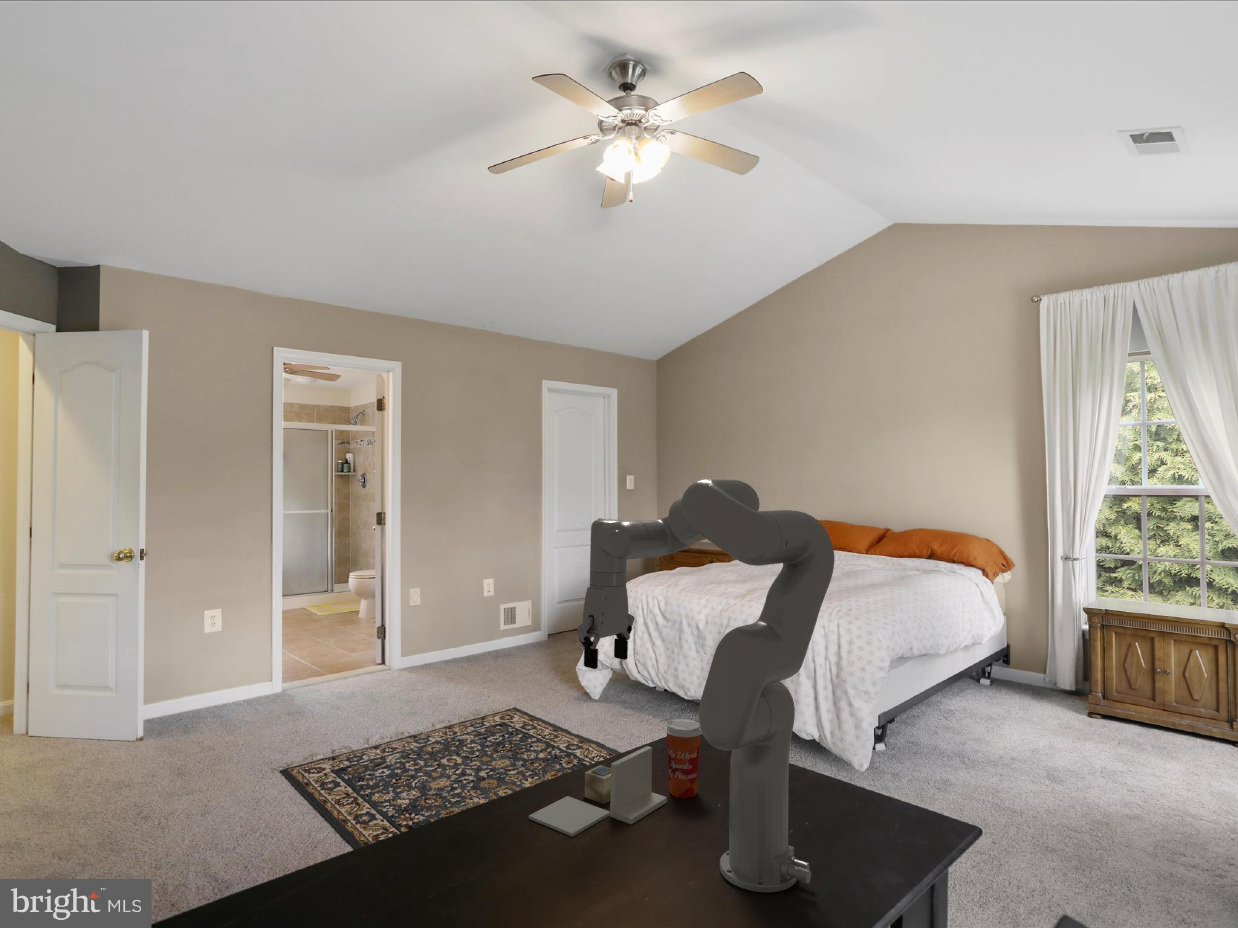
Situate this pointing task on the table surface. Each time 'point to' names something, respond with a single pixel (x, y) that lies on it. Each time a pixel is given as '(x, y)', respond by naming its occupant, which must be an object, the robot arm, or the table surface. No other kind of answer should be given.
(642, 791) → the screen
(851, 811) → the table surface
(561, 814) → the felt mat
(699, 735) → the paper cup
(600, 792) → the maple cube
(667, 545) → the robot arm
